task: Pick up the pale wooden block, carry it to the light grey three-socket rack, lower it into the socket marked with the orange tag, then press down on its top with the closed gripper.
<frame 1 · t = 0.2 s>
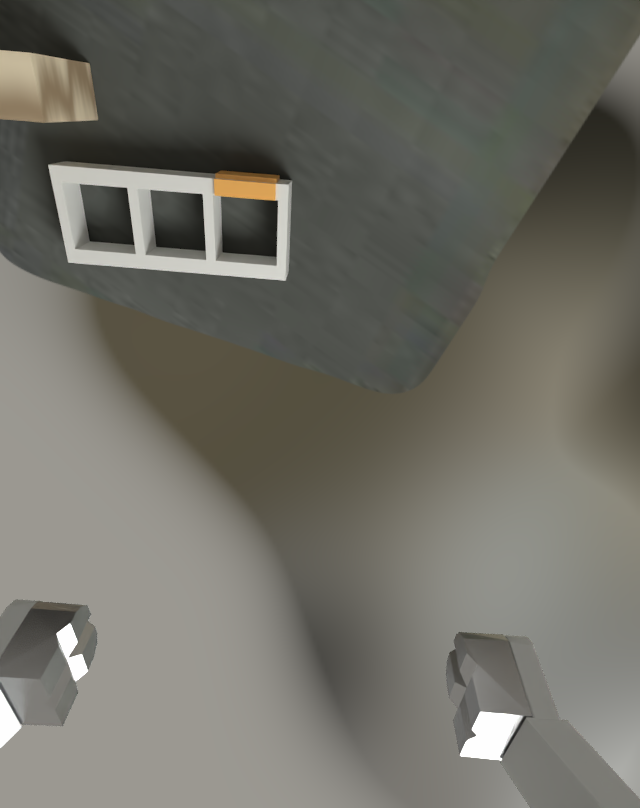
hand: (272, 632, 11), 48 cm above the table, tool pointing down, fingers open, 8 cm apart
wooden block: (70, 90, 46), on the table
rack: (182, 218, 52), on the table
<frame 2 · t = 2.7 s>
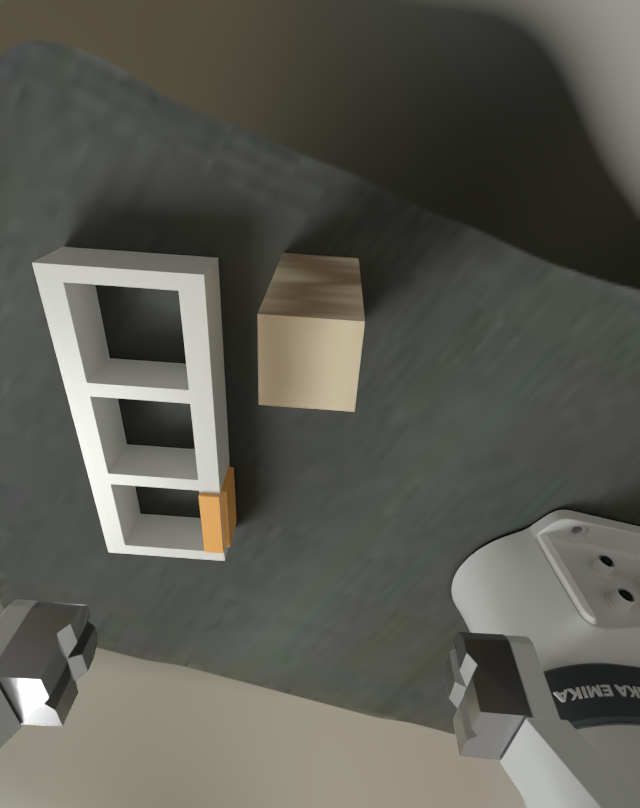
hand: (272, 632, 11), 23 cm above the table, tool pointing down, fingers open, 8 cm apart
wooden block: (318, 292, 30), on the table
rack: (163, 412, 35), on the table
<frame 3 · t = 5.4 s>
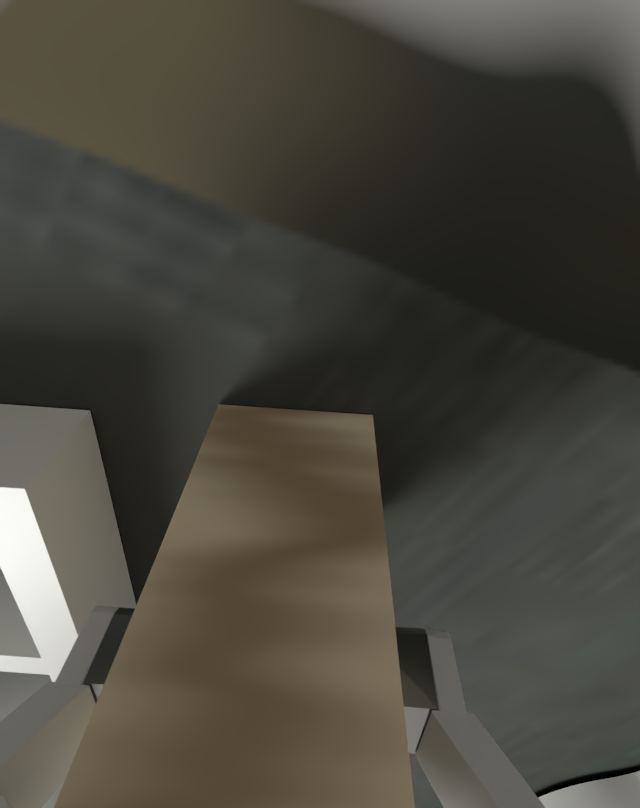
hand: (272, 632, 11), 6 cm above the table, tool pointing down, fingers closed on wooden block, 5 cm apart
wooden block: (293, 469, 15), on the table, touching gripper
rack: (35, 628, 21), on the table
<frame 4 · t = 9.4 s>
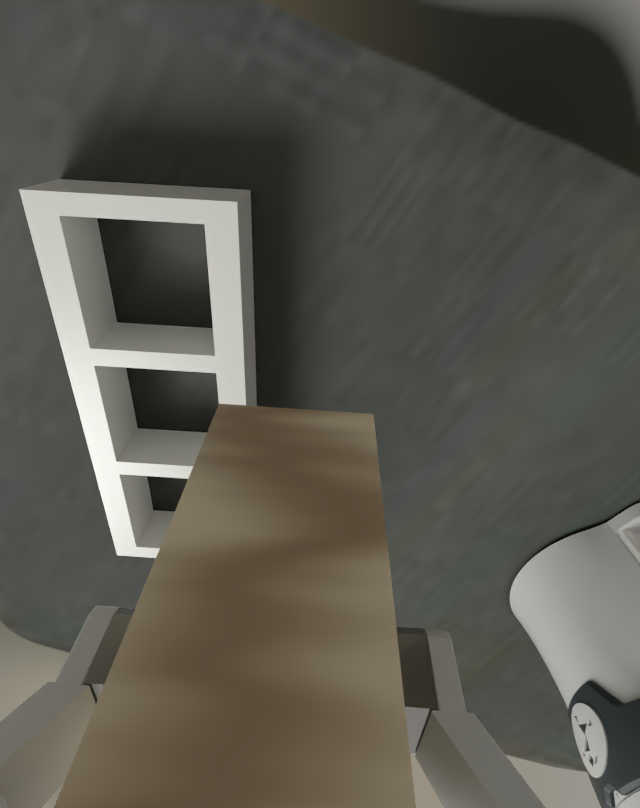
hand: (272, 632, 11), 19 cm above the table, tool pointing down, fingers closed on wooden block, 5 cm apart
wooden block: (293, 468, 15), point 13 cm above the table, touching gripper
rack: (181, 389, 30), on the table
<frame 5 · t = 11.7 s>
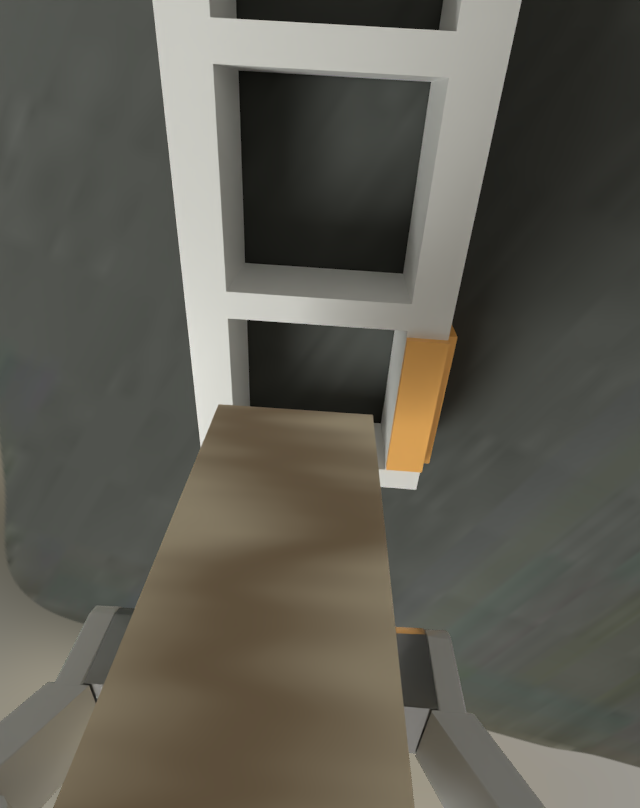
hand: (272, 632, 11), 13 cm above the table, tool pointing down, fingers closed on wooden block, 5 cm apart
wooden block: (293, 469, 15), point 8 cm above the table, touching gripper
rack: (328, 181, 18), on the table
when the fingers open (7 cm above the table, at t = 13.7 s): wooden block drops 1 cm, resting in rack.
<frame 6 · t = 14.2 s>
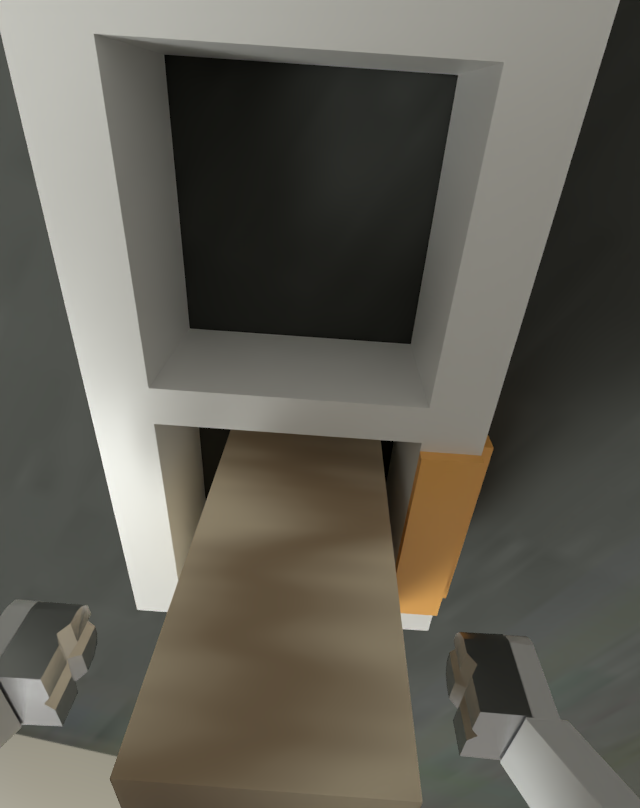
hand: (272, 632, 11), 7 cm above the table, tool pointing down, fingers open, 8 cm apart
wooden block: (304, 470, 17), resting in rack
rack: (304, 219, 12), on the table
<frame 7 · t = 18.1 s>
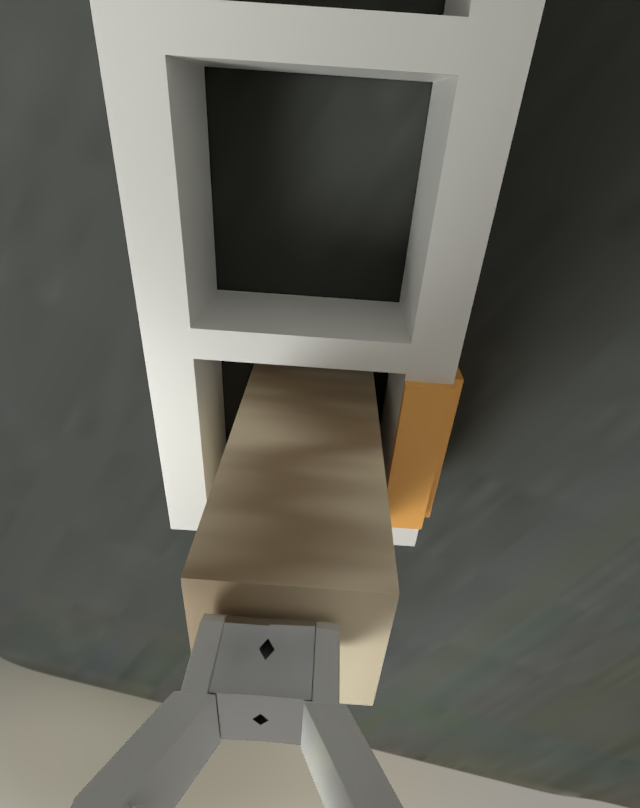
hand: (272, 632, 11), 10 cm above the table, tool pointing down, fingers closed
wooden block: (310, 415, 20), resting in rack
rack: (312, 197, 15), on the table
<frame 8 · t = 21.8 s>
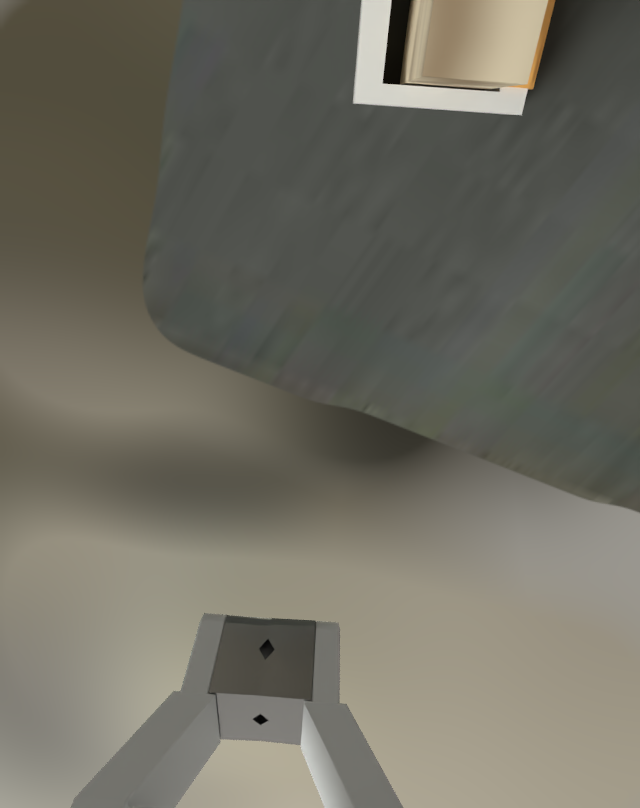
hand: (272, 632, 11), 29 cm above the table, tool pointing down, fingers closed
wooden block: (444, 41, 28), resting in rack
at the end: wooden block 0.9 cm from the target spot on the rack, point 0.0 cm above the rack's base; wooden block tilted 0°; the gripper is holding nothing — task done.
